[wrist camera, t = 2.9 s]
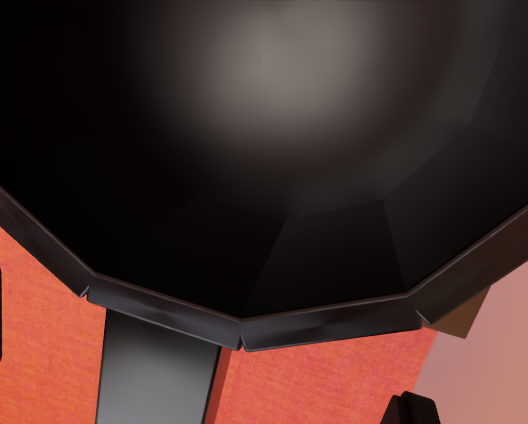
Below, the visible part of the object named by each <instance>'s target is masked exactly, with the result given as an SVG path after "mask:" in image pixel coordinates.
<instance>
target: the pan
mask: <svg viewBox="0 0 528 424" xmlns="http://www.w3.org/2000/svg"><path fill="white" fill-rule="evenodd" d="M0 227H1V228H3V229H4V230H5V231H6V232H7V233H8V234H9V235H10V236H11V237H13V238H14V239H15V240H16V241H17V242H18V243H19V244H20V245H21V246H23V247H24V248H25V249H26V250H27V251H28V252H29V253H30V254H31V255H33V256H34V257H35V258H36V259H37V260H38V261H39V262H40V263H41V264H43V265H44V266H45V267H46V268H47V269H48V270H49V271H50V272H51V273H53V274H54V275H55V276H56V277H57V278H58V279H59V280H60V281H61V282H63V283H64V284H65V285H66V286H67V287H68V288H69V289H70V290H71V291H72V292H74V293H75V294H76V295H77V296H78V297H80V298H81V297H84V296H85V295H86V294H87V301H88V302H90V303H93V304H96V305H99V306H102V307H105V308H107V309H106V319H105V329H104V339H103V349H102V359H101V369H100V379H99V388H98V398H97V408H96V418H95V424H214V422H215V418H216V414H217V410H218V406H219V402H220V398H221V393H222V389H223V385H224V381H225V377H226V373H227V369H228V365H229V360H230V356H231V352H232V350H235V351H239V350H240V349H241V348H242V346H243V347H244V349H245V351H246V352H254V351H262V350H269V349H277V348H285V347H292V346H300V345H307V344H315V343H322V342H330V341H337V340H345V339H352V338H360V337H368V336H375V335H383V334H390V333H398V332H405V331H413V330H419V329H421V328H422V325H423V322H422V320H424V321H425V322H426V323H427V324H429V325H433V324H435V323H436V322H438V321H439V320H441V319H442V318H444V317H445V316H447V315H448V314H450V313H451V312H453V311H454V310H456V309H457V308H458V307H460V306H461V305H463V304H464V303H466V302H467V301H469V300H470V299H472V298H473V297H475V296H476V295H478V294H479V293H481V292H482V291H484V290H485V289H487V288H488V287H490V286H491V285H492V284H494V283H495V282H497V281H499V280H500V279H501V278H503V277H504V276H506V275H507V274H509V273H510V272H512V271H513V270H515V269H516V268H518V267H519V266H521V265H522V264H524V263H525V262H527V261H528V0H0Z"/></svg>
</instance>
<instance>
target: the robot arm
mask: <svg viewBox="0 0 528 424" xmlns="http://www.w3.org/2000/svg"><path fill="white" fill-rule="evenodd" d="M1 358H2V278H1V269H0V361H1ZM380 424H440V420H439V416H438V412H437V408H436V405H435V402H434V401H433V400H432V399H429V398H426V397H423V396H420V395H417V394H414V393H411V392H408V391H404V392H403V393H402V395H401V397H400V396H397V395H393V396H392V398H391V400H390V402H389V404H388V407H387V409H386V411H385V413H384V416H383V418H382V420H381V423H380Z"/></svg>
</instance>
